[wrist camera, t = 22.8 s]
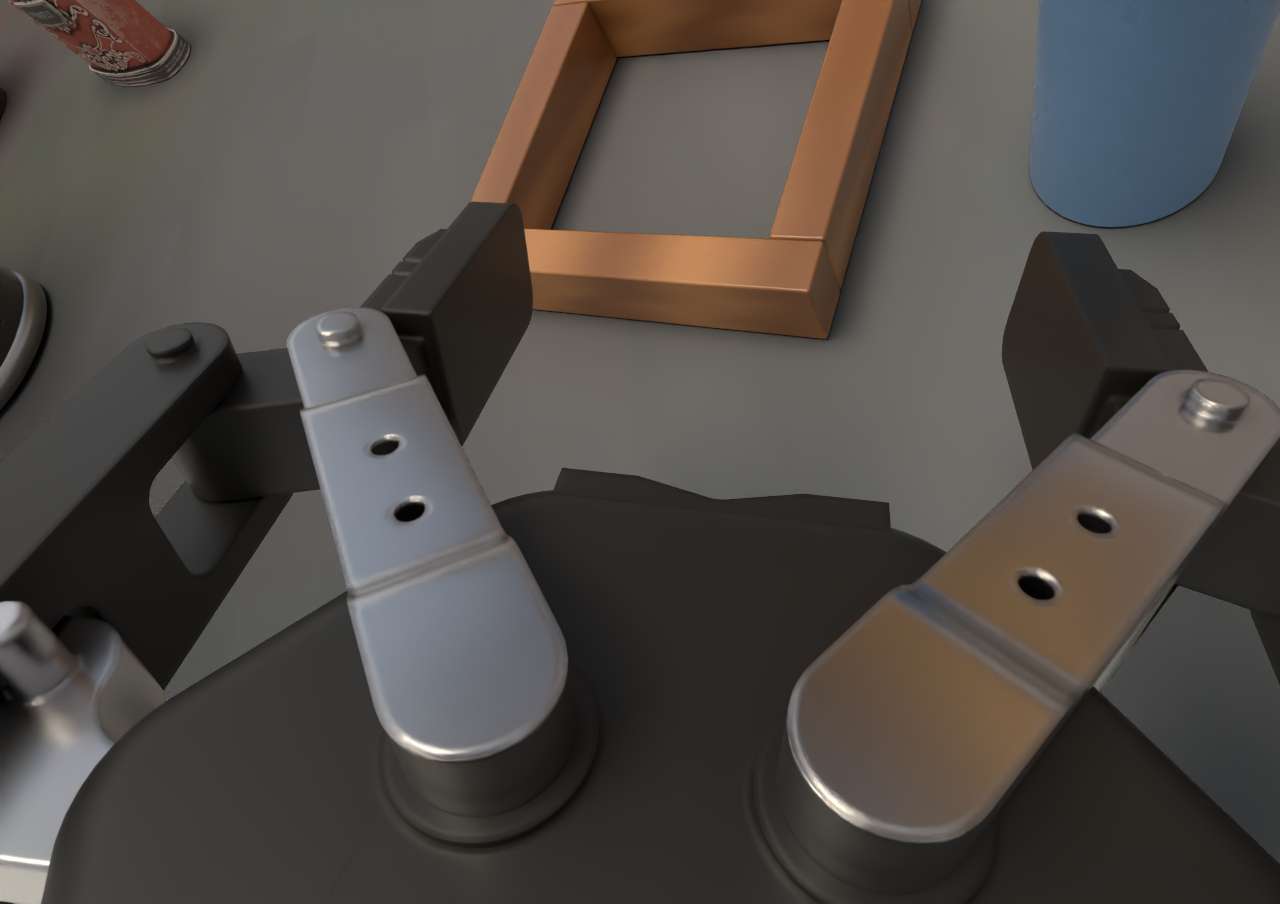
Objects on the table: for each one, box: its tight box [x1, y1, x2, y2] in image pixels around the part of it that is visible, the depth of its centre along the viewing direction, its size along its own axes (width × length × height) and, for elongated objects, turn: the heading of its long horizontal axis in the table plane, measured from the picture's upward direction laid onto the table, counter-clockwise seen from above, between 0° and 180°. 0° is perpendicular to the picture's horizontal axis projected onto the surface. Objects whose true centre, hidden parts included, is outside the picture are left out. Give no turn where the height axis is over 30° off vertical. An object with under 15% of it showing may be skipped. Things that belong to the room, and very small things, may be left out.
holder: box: [471, 0, 921, 339], centre depth 24 cm, size 12×12×2 cm
